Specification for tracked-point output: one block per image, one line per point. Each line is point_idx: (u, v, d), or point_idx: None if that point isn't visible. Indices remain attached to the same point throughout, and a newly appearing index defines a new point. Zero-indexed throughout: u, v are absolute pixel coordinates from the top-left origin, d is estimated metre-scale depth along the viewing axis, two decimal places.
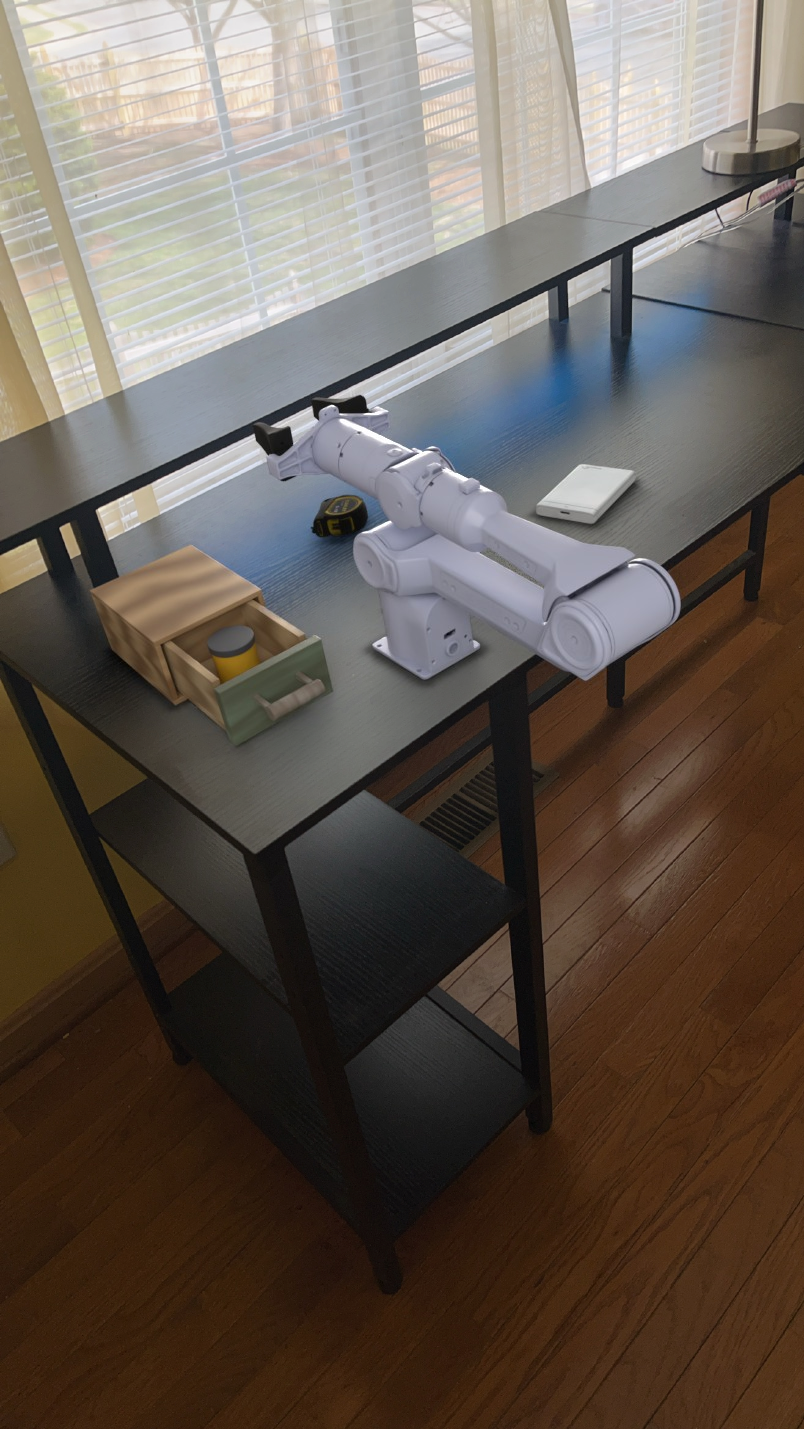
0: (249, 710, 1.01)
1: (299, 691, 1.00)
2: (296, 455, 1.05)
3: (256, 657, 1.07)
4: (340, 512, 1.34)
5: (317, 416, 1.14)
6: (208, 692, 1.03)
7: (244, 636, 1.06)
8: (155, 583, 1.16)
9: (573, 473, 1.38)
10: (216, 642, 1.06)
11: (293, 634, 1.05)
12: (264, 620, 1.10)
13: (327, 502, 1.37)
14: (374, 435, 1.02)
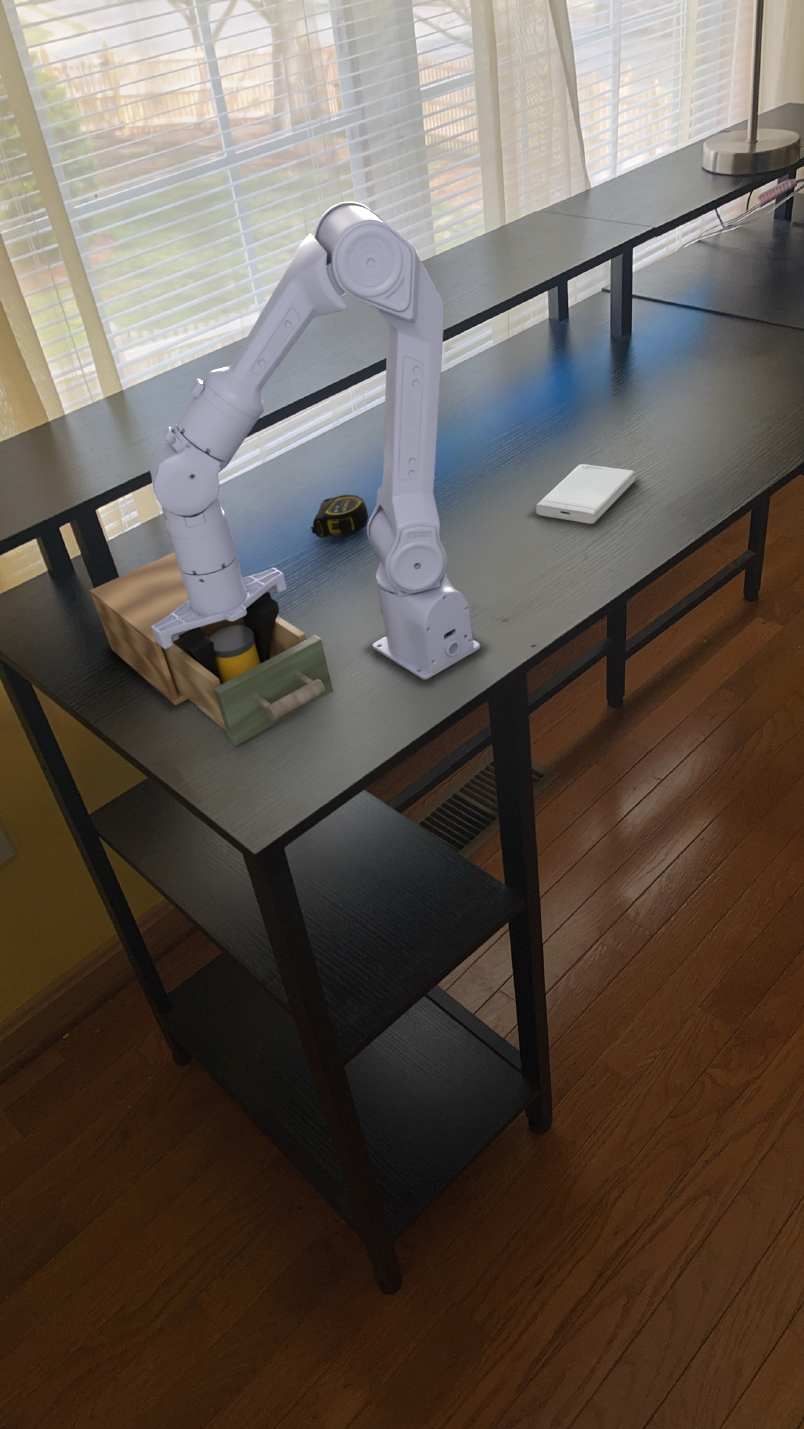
0: (249, 710, 1.01)
1: (299, 691, 1.00)
2: (261, 583, 1.05)
3: (256, 657, 1.07)
4: (340, 512, 1.34)
5: None
6: (208, 692, 1.03)
7: (244, 636, 1.06)
8: (155, 583, 1.16)
9: (573, 473, 1.38)
10: (216, 642, 1.06)
11: (293, 634, 1.05)
12: None
13: (327, 502, 1.37)
14: None
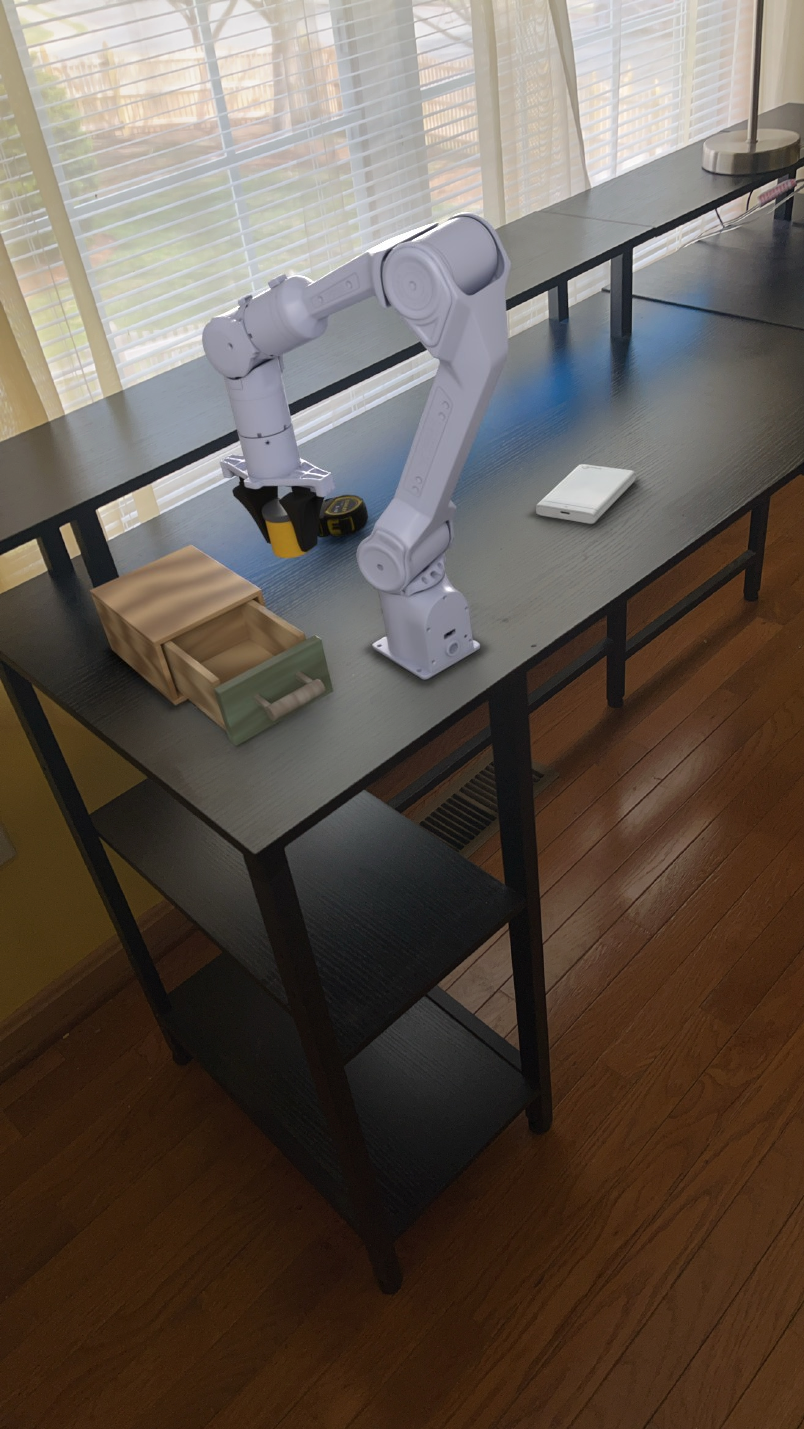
0: (249, 710, 1.01)
1: (299, 691, 1.00)
2: (303, 477, 1.07)
3: (288, 535, 1.12)
4: (340, 512, 1.34)
5: None
6: (208, 692, 1.03)
7: None
8: (155, 583, 1.16)
9: (573, 473, 1.38)
10: (276, 502, 1.13)
11: (293, 634, 1.05)
12: (264, 620, 1.10)
13: (327, 502, 1.37)
14: None
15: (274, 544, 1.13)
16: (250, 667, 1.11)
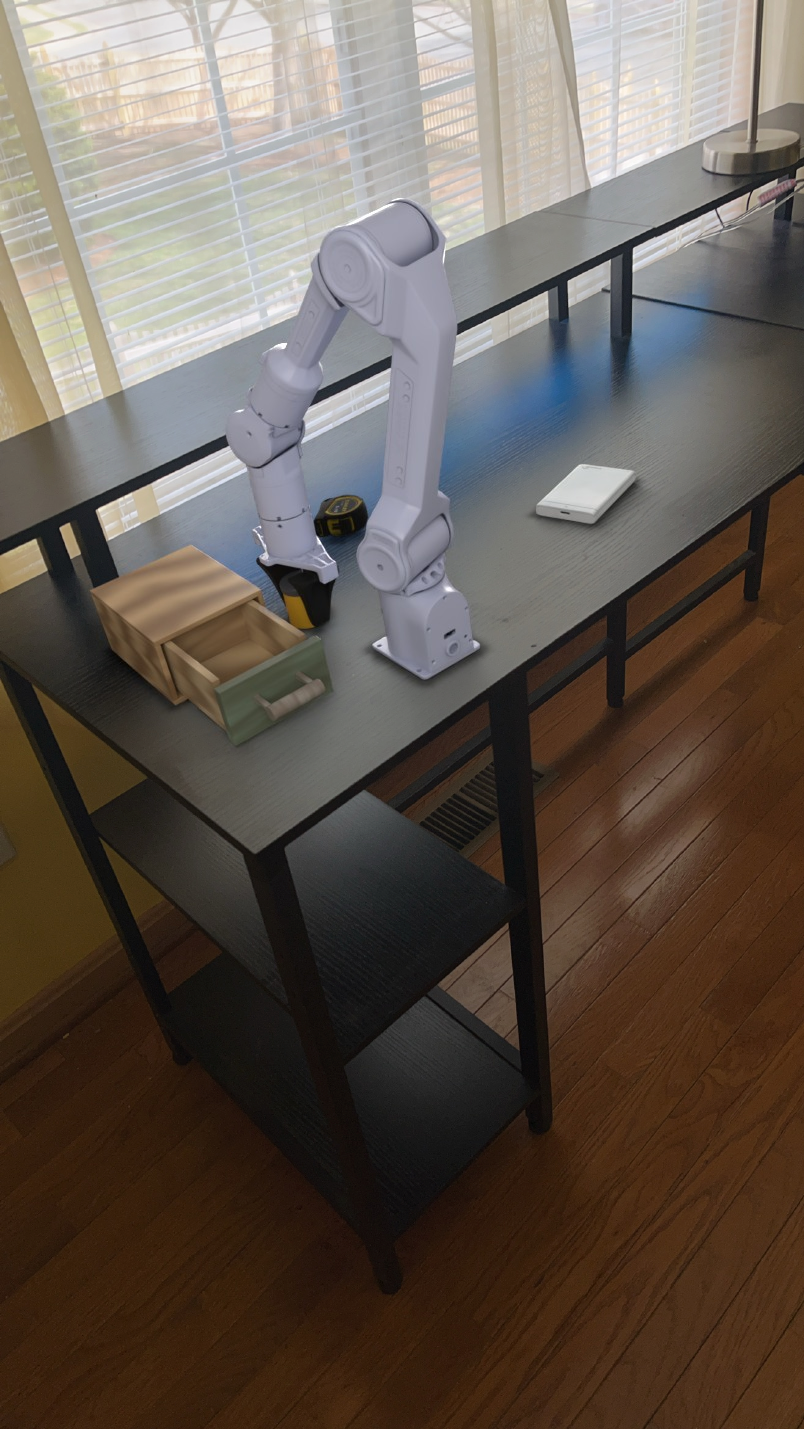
0: (249, 710, 1.01)
1: (299, 691, 1.00)
2: (310, 561, 1.12)
3: (299, 609, 1.18)
4: (340, 512, 1.34)
5: None
6: (208, 692, 1.03)
7: None
8: (155, 583, 1.16)
9: (573, 473, 1.38)
10: None
11: (293, 634, 1.05)
12: (264, 620, 1.10)
13: (327, 502, 1.37)
14: None
15: (288, 614, 1.19)
16: (250, 667, 1.11)
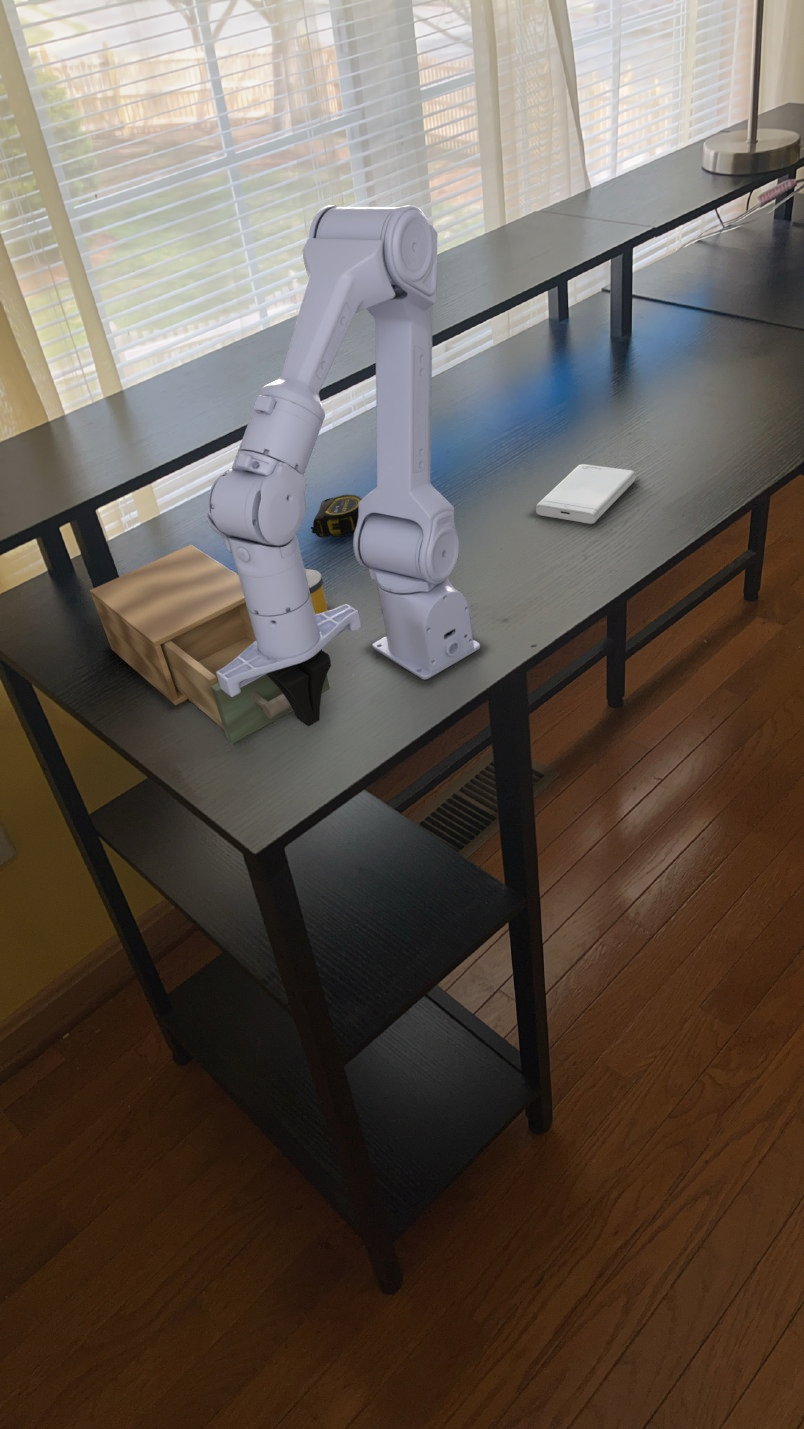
0: (246, 708, 1.02)
1: None
2: (241, 661, 0.93)
3: None
4: (340, 512, 1.34)
5: None
6: (205, 690, 1.03)
7: None
8: (155, 583, 1.16)
9: (573, 473, 1.38)
10: None
11: None
12: None
13: (327, 502, 1.37)
14: (247, 596, 0.89)
15: None
16: None
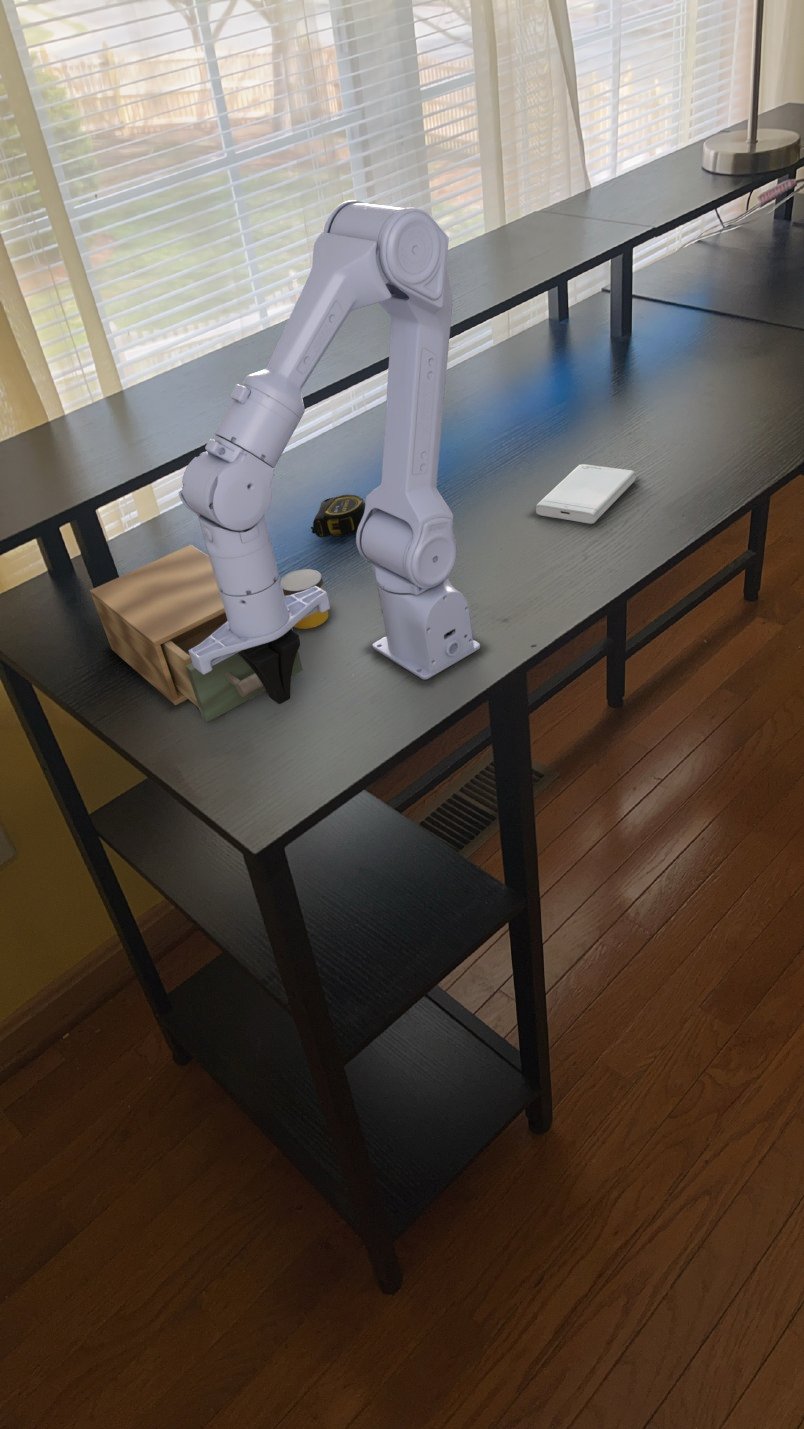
0: (220, 687, 1.05)
1: None
2: (213, 640, 0.96)
3: None
4: (340, 512, 1.34)
5: None
6: (181, 670, 1.06)
7: (299, 586, 1.17)
8: (155, 583, 1.16)
9: (573, 473, 1.38)
10: (296, 574, 1.19)
11: None
12: None
13: (327, 502, 1.37)
14: (214, 573, 0.93)
15: None
16: None
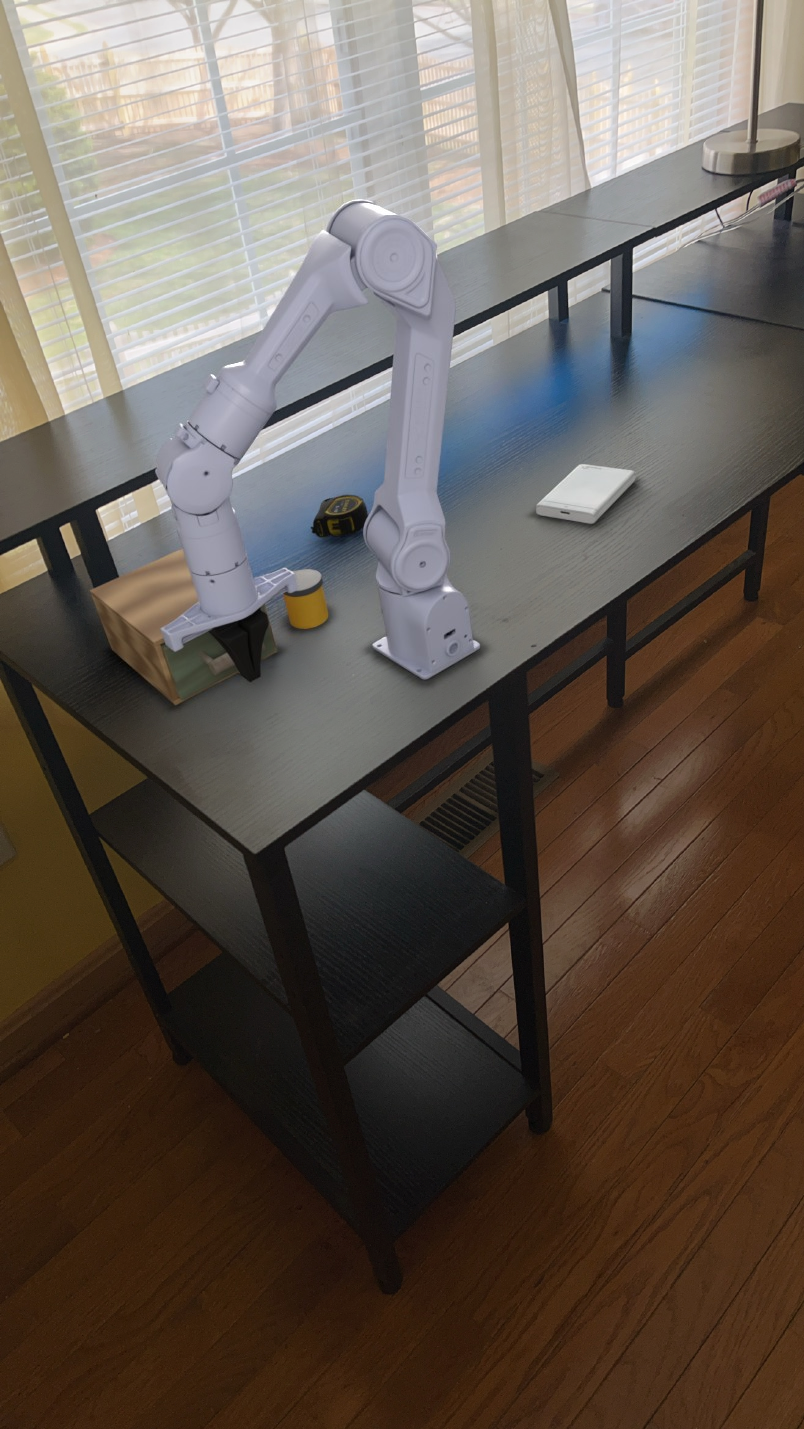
0: (194, 666, 1.09)
1: None
2: (184, 619, 1.00)
3: (299, 609, 1.18)
4: (340, 512, 1.34)
5: None
6: None
7: (299, 586, 1.17)
8: (155, 583, 1.16)
9: (573, 473, 1.38)
10: (296, 574, 1.19)
11: None
12: None
13: (327, 502, 1.37)
14: None
15: (288, 614, 1.19)
16: None
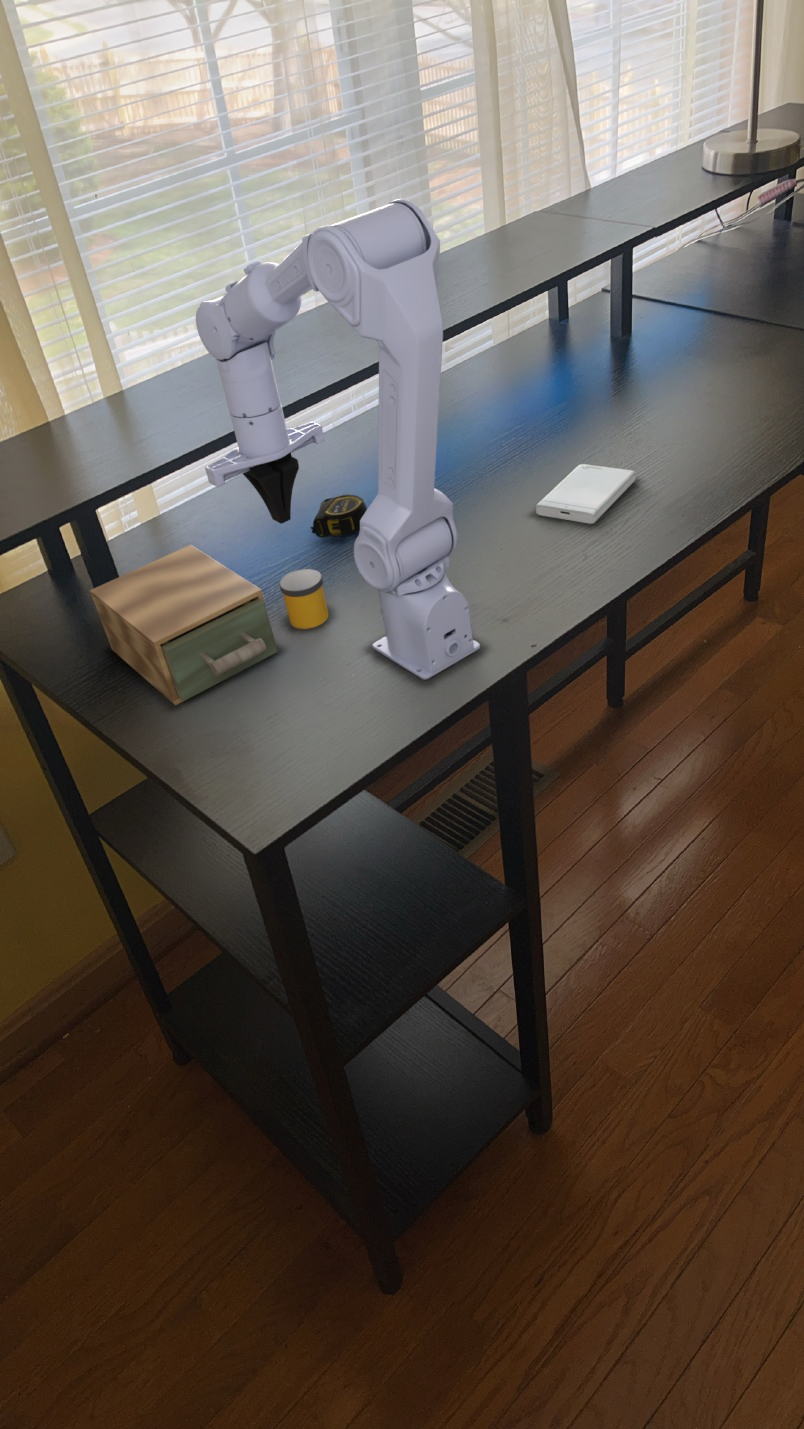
0: (196, 667, 1.09)
1: (241, 649, 1.07)
2: (225, 460, 1.14)
3: (299, 609, 1.18)
4: (340, 512, 1.34)
5: None
6: None
7: (299, 586, 1.17)
8: (155, 583, 1.16)
9: (573, 473, 1.38)
10: (296, 574, 1.19)
11: None
12: None
13: (327, 502, 1.37)
14: None
15: (288, 614, 1.19)
16: None
